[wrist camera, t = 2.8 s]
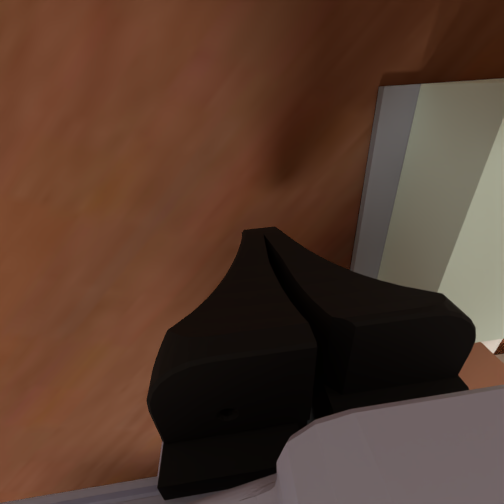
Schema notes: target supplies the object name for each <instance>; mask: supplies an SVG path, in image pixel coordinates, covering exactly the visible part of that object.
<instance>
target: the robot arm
mask: <svg viewBox="0 0 504 504" xmlns="http://www.w3.org/2000/svg"><path fill="white" fill-rule="evenodd" d="M475 340H476V327H475V325H474V323H473V322H472V320H471V319H470V318H469V317H468V316H467V315H466V314H465V313H464V312H463V311H461V310H460V309H459V308H458V307H457V306H456V305H455V304H454V303H453V302H452V301H450V300H449V299H448V298H447V297H446V296H445V295H444V294H442V293H437V292H432V291H427V290H421V289H416V288H411V287H405V286H401V285H397V284H393V283H389V282H385V281H381V280H378V279H374V278H371V277H368V276H365V275H362V274H359V273H356V272H353V271H351V270H348V269H346V268H343V267H341V266H338V265H336V264H334V263H332V262H330V261H327V260H325V259H324V258H322V257H320V256H318V255H316V254H314V253H313V252H311V251H309V250H308V249H306V248H304V247H303V246H301V245H300V244H298V243H297V242H295V241H294V240H293V239H291V238H290V237H288V236H287V235H286V234H284V233H283V232H282V231H280V230H279V229H277V228H276V227H268V228H258V229H249V230H244V231H243V232H242V240H241V244H240V247H239V250H238V253H237V255H236V257H235V259H234V261H233V263H232V265H231V267H230V269H229V271H228V272H227V274H226V275H225V277H224V278H223V280H222V281H221V283H220V284H219V285H218V286H217V288H216V289H215V290H214V291H213V293H212V294H211V295H210V296H209V297H208V298H207V299H206V300H205V301H204V302H203V303H202V304H201V305H200V306H199V307H198V308H197V309H195V310H194V311H193V312H192V313H191V314H189V315H188V316H186V317H185V318H184V319H182V320H181V321H180V322H178V323H177V324H176V325H174V326H173V327H171V328H170V329H168V331H167V332H166V335H165V337H164V339H163V342H162V344H161V347H160V349H159V352H158V355H157V357H156V360H155V364H154V367H153V371H152V376H151V381H150V386H149V391H148V396H147V405H148V410H149V413H150V415H151V417H152V419H153V421H154V423H155V426H156V428H157V430H158V432H159V434H160V436H161V439H162V447H161V454H160V461H159V468H158V475H157V476H156V477H150V478H144V479H138V480H132V481H126V482H120V483H115V484H109V485H103V486H97V487H91V488H85V489H79V490H73V491H68V492H62V493H56V494H50V495H44V496H38V497H32V498H26V499H21V500H15V501H9V502H3V503H0V504H504V385H498V386H491V387H485V388H479V389H473V390H469V388H468V386H467V385H466V384H465V383H464V381H463V380H462V379H461V378H460V377H459V375H458V374H459V372H460V371H461V369H462V367H463V365H464V363H465V361H466V360H467V358H468V356H469V354H470V352H471V351H472V348H473V345H474V343H475Z"/></svg>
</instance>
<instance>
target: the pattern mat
mask: <svg viewBox="0 0 504 504" xmlns="http://www.w3.org/2000/svg"><path fill="white" fill-rule="evenodd" d="M497 79H502V78H497ZM482 80H487V79H482ZM468 81H473V80H468ZM453 82H458V81H453ZM439 83H443V82H439ZM424 84H429V83H424ZM420 87H421V84H409V85H395V86H380V87H379V90H378V97H377V103H376V109H375V116H374V122H373V128H372V135H371V141H370V147H369V154H368V160H367V166H366V173H365V179H364V185H363V192H362V198H361V204H360V211H359V217H358V223H357V230H356V236H355V242H354V249H353V255H352V261H351V268H350V270H351V271H353V272H356V273H359V274H362V275H365V276H368V277H371V278H374V279H377V278H378V273H379V269H380V264H381V260H382V255H383V251H384V247H385V242H386V238H387V233H388V229H389V224H390V220H391V215H392V211H393V207H394V202H395V198H396V193H397V189H398V184H399V180H400V176H401V171H402V167H403V162H404V158H405V153H406V149H407V144H408V140H409V136H410V131H411V127H412V122H413V118H414V113H415V109H416V105H417V100H418V96H419V91H420Z"/></svg>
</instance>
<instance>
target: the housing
mask: <svg viewBox="0 0 504 504" xmlns="http://www.w3.org/2000/svg"><path fill="white" fill-rule="evenodd" d="M377 279H378V280H381V281H385V282H389V283H393V284H397V285H401V286H405V287H411V288H416V289H421V290H427V291H432V292H437V293H442V294H444V295H445V296H446V297H447V298H448V299H449V300H450V301H452V302H453V303H454V304H455V305H456V306H457V307H458V308H459V309H460V310H461V311H463V312H464V313H465V314H466V315H467V316H468V317H469V318H470V319H471V320H472V322H473V323H474V325H475V327H476V340H475V343H477V342H484V341H491V340H497V339H504V78H502V79H487V80H473V81H458V82H443V83H429V84H421V87H420V91H419V96H418V100H417V105H416V109H415V113H414V118H413V122H412V127H411V131H410V136H409V140H408V144H407V149H406V153H405V158H404V162H403V167H402V171H401V176H400V180H399V184H398V189H397V193H396V198H395V202H394V207H393V211H392V215H391V220H390V224H389V229H388V233H387V238H386V242H385V247H384V251H383V255H382V260H381V264H380V269H379V273H378V278H377Z"/></svg>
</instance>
